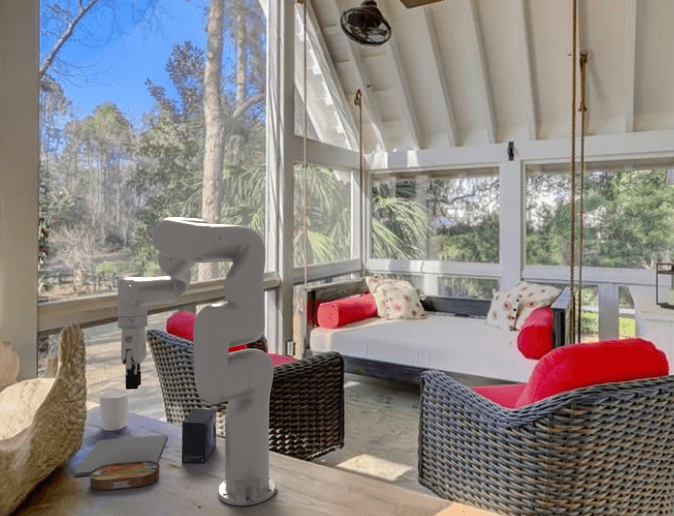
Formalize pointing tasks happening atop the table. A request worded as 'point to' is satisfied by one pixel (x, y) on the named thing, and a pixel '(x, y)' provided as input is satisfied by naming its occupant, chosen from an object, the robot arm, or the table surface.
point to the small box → (198, 436)
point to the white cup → (114, 409)
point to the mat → (122, 452)
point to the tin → (124, 475)
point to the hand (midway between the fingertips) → (133, 386)
